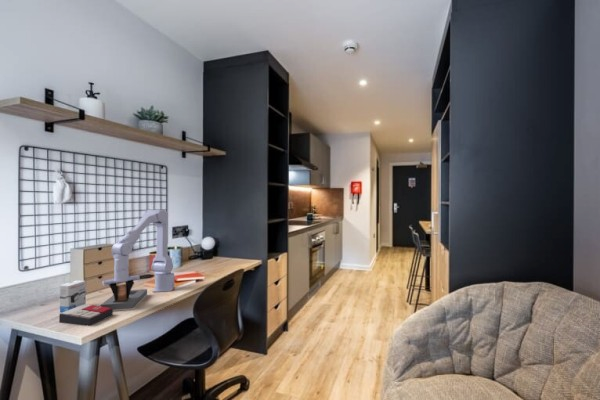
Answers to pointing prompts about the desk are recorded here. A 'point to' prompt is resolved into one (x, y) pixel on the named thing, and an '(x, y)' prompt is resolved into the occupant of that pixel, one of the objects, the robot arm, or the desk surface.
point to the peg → (122, 293)
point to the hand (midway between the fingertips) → (121, 298)
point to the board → (130, 304)
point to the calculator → (85, 315)
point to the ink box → (72, 295)
